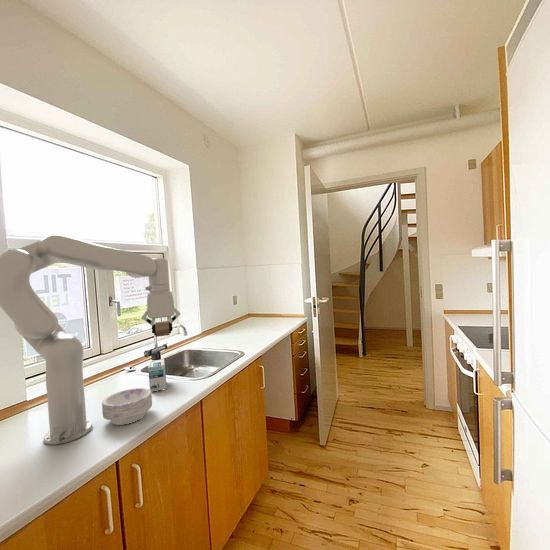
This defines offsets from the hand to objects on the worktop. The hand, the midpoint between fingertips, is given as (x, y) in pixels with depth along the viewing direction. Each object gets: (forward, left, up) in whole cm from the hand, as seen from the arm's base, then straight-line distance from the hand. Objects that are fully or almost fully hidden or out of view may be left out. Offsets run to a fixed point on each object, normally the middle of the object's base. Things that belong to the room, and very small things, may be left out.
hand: (162, 333), depth 116 cm
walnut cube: (0, 0, -1) cm, 1 cm away
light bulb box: (+12, +3, -26) cm, 28 cm away
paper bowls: (-13, +13, -26) cm, 31 cm away
